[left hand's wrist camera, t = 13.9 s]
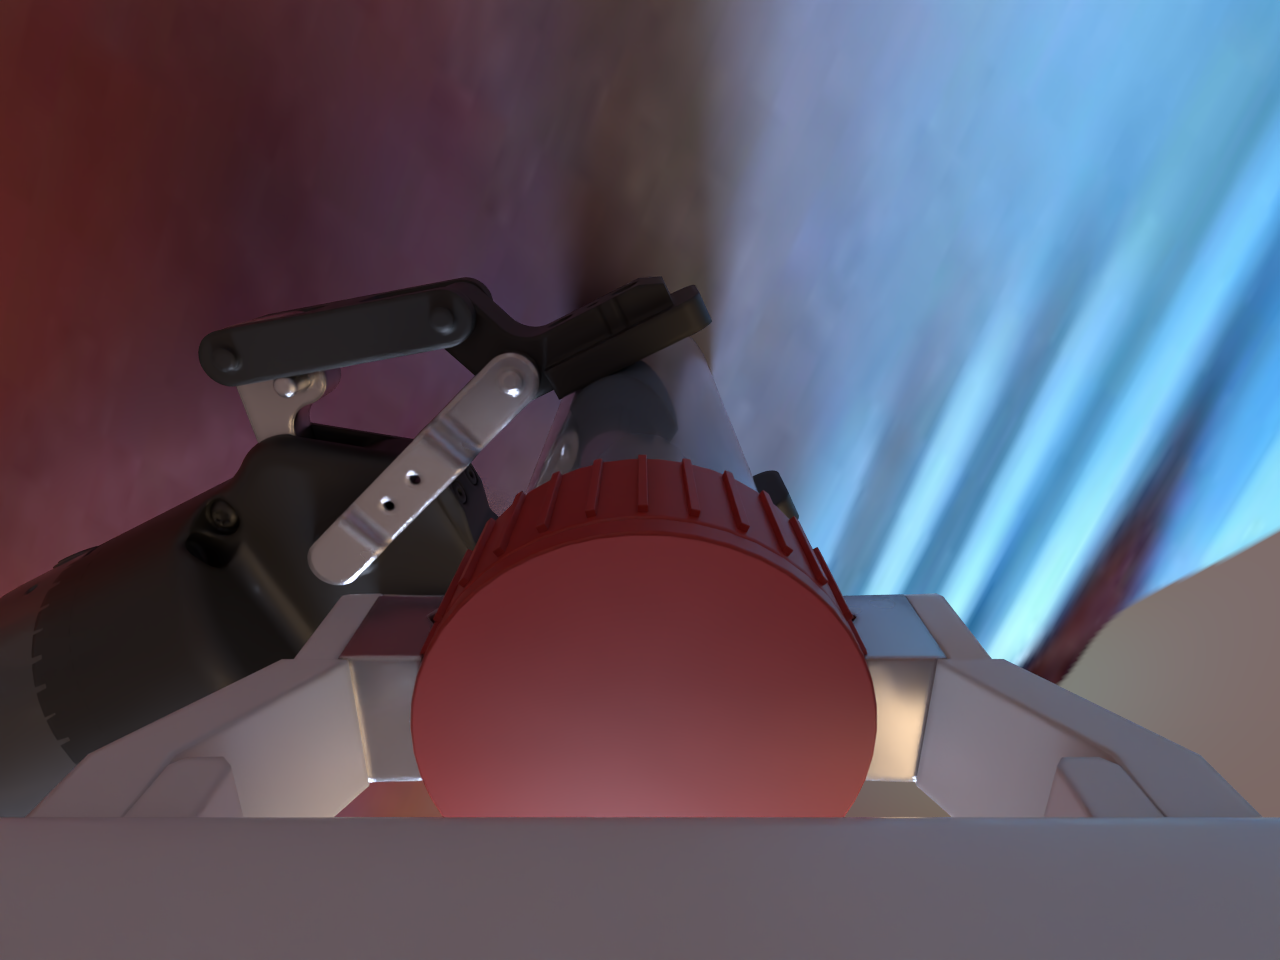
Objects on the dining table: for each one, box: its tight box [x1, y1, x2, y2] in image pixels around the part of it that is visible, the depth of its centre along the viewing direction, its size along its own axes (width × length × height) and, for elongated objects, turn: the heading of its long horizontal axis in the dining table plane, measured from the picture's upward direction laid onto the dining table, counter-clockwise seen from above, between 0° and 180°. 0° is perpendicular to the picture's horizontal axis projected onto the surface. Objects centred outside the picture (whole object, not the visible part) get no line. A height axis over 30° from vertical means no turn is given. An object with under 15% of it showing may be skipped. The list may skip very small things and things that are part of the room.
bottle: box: [525, 336, 759, 495], centre depth 16 cm, size 4×4×16 cm
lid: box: [410, 455, 877, 817], centre depth 9 cm, size 5×5×2 cm
